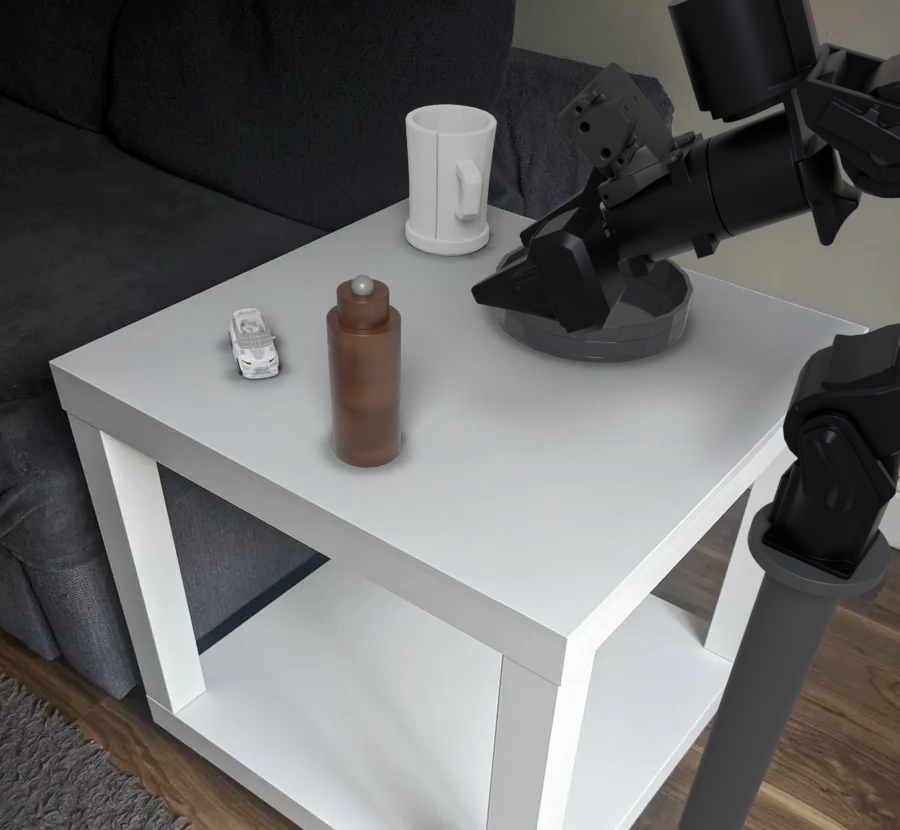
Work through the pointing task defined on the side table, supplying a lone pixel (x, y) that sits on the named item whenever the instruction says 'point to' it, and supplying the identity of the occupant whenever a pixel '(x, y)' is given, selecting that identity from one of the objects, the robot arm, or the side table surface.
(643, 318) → the pan
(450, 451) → the side table surface
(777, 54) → the robot arm
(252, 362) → the toy car
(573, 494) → the side table surface
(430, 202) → the cup
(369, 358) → the pepper mill
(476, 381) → the side table surface
